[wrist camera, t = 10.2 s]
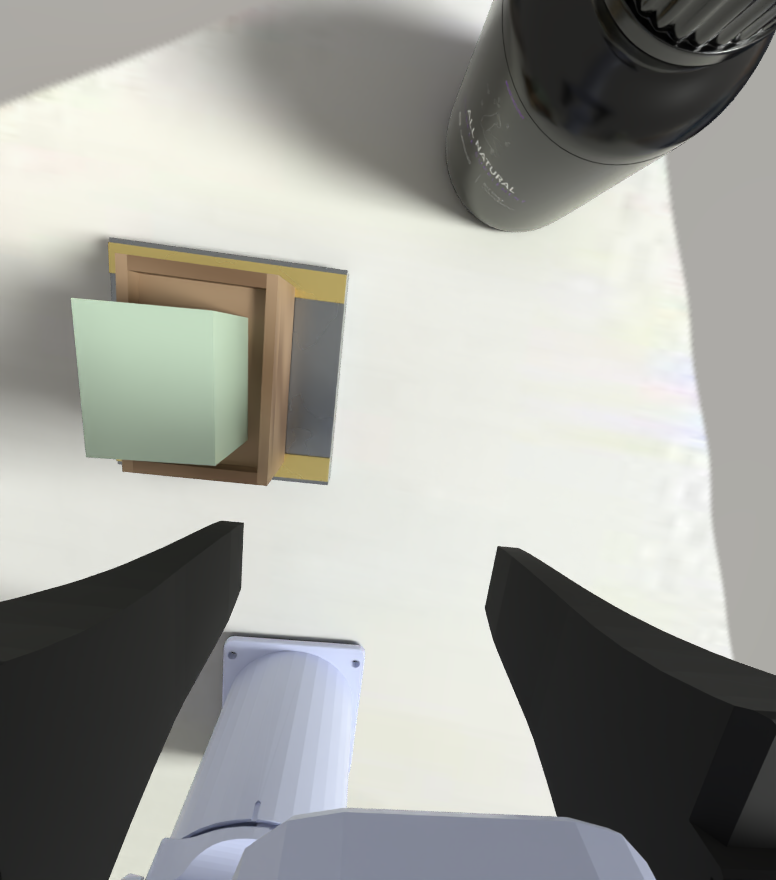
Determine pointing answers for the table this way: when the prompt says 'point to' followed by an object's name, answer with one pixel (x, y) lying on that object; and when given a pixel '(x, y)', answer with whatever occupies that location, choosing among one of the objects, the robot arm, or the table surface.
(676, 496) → the table surface
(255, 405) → the open wooden box
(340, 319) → the dock
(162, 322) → the pale green block
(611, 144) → the supplement bottle
